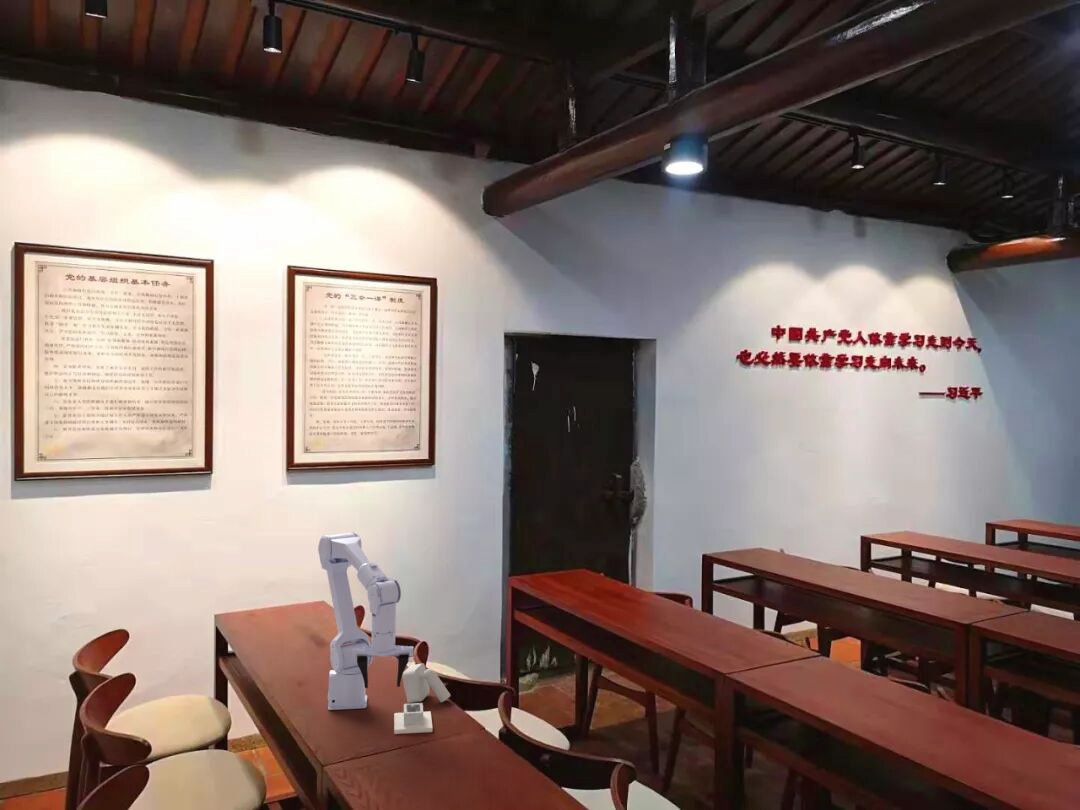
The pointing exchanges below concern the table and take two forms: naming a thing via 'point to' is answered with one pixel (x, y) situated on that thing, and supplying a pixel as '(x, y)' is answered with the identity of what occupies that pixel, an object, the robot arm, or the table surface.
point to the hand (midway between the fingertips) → (382, 686)
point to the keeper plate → (401, 729)
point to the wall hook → (422, 683)
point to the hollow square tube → (413, 715)
